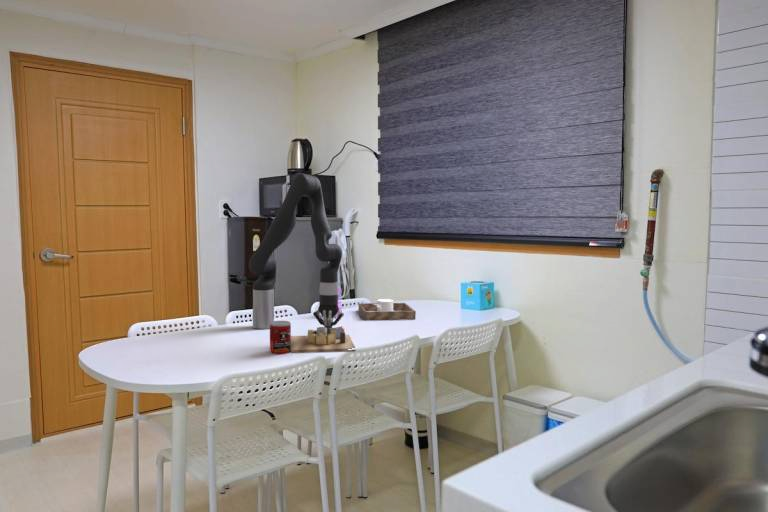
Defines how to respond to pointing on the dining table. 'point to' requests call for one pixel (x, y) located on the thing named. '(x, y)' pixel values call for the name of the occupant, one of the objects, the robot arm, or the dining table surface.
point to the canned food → (280, 337)
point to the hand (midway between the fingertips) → (328, 335)
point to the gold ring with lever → (324, 336)
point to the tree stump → (384, 305)
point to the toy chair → (339, 302)
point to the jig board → (303, 346)
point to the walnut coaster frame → (386, 312)
